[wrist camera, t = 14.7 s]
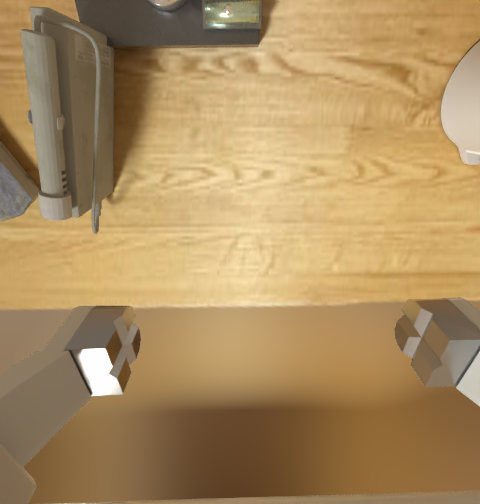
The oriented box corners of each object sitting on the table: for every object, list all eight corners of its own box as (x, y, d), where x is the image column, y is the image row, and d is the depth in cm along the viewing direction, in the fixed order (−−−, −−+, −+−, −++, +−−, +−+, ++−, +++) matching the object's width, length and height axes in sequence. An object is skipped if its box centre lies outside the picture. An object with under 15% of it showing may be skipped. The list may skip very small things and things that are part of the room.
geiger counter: (-16, -16, 20) (32, 260, 32) (73, 10, 21) (87, 271, 33) (80, 26, 32) (88, 216, 44) (134, 42, 33) (128, 224, 45)
